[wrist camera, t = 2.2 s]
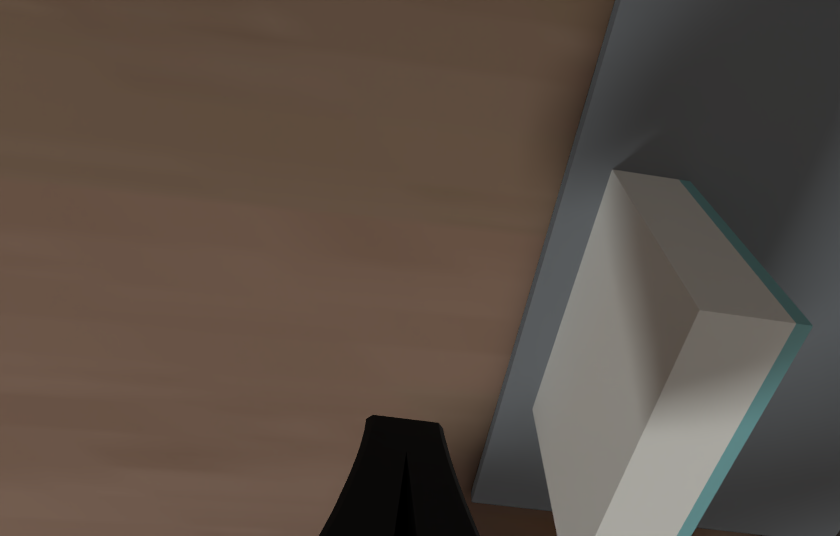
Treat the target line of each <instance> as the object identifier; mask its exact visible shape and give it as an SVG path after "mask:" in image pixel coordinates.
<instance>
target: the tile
mask: <svg viewBox="0 0 840 536" xmlns="http://www.w3.org/2000/svg"><path fill="white" fill-rule="evenodd" d="M812 327H813V325H812V324H811V323H810V322H809V320H808V319H807V318H806V317H805V316H804V314H803V313H802V312H801V311H800V310H799V309H798V307H797V306H796V305H795V304H794V303H793V302H792V300H791V299H790V298H789V297H788V296H787V294H786V293H785V292H784V291H783V290H782V289H781V287H780V286H779V285H778V284H777V283H776V282H775V280H774V279H773V278H772V277H771V276H770V274H769V273H768V272H767V271H766V270H765V269H764V267H763V266H762V265H761V264H760V263H759V262H758V260H757V259H756V258H755V257H754V256H753V254H752V253H751V252H750V251H749V250H748V249H747V247H746V246H745V245H744V244H743V243H742V241H741V240H740V239H739V238H738V237H737V236H736V234H735V233H734V232H733V231H732V230H731V229H730V227H729V226H728V225H727V224H726V223H725V221H724V220H723V219H722V218H721V217H720V216H719V214H718V213H717V212H716V211H715V210H714V209H713V207H712V206H711V205H710V204H709V203H708V201H707V200H706V199H705V198H704V197H703V196H702V194H701V193H700V192H699V191H698V190H697V189H696V187H695V186H694V185H693V184H692V183H691V181H685V180H678V179H672V178H665V177H659V176H652V175H646V174H639V173H633V172H626V171H620V170H613V169H612V171H611V174H610V177H609V180H608V183H607V186H606V189H605V192H604V195H603V198H602V201H601V204H600V207H599V210H598V213H597V216H596V219H595V222H594V225H593V228H592V231H591V234H590V237H589V240H588V243H587V246H586V249H585V252H584V255H583V258H582V261H581V264H580V267H579V270H578V273H577V276H576V279H575V282H574V285H573V288H572V291H571V294H570V297H569V300H568V303H567V306H566V309H565V312H564V315H563V318H562V321H561V324H560V327H559V330H558V333H557V336H556V340H555V343H554V346H553V349H552V352H551V355H550V358H549V361H548V364H547V367H546V370H545V373H544V376H543V379H542V382H541V385H540V388H539V391H538V394H537V397H536V400H535V403H534V406H533V409H532V410H533V415H534V420H535V425H536V430H537V435H538V441H539V446H540V451H541V456H542V461H543V466H544V471H545V476H546V481H547V486H548V492H549V497H550V502H551V507H552V512H553V517H554V522H555V527H556V532H557V536H691V535H692V533H693V532H694V530H695V528H696V527H697V525H698V523H699V521H700V520H701V518H702V516H703V515H704V513H705V511H706V509H707V508H708V506H709V504H710V503H711V501H712V499H713V497H714V496H715V494H716V492H717V490H718V489H719V487H720V485H721V484H722V482H723V480H724V478H725V477H726V475H727V473H728V472H729V470H730V468H731V466H732V465H733V463H734V461H735V459H736V458H737V456H738V454H739V453H740V451H741V449H742V447H743V446H744V444H745V442H746V441H747V439H748V437H749V435H750V434H751V432H752V430H753V429H754V427H755V425H756V423H757V422H758V420H759V418H760V416H761V415H762V413H763V411H764V410H765V408H766V406H767V404H768V403H769V401H770V399H771V398H772V396H773V394H774V392H775V391H776V389H777V387H778V386H779V384H780V382H781V380H782V379H783V377H784V375H785V373H786V372H787V370H788V368H789V367H790V365H791V363H792V361H793V360H794V358H795V356H796V355H797V353H798V351H799V349H800V348H801V346H802V344H803V343H804V341H805V339H806V337H807V336H808V334H809V332H810V330H811V329H812Z"/></svg>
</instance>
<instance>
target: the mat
mask: <svg viewBox="0 0 840 536" xmlns="http://www.w3.org/2000/svg"><path fill="white" fill-rule="evenodd" d="M612 169H613V170H620V171H626V172H633V173H639V174H646V175H652V176H659V177H665V178H672V179H678V180H685V181H691V183H692V184H693V185H694V186H695V187H696V189H697V190H698V191H699V192H700V193H701V194H702V196H703V197H704V198H705V199H706V200H707V201H708V203H709V204H710V205H711V206H712V207H713V209H714V210H715V211H716V212H717V213H718V214H719V216H720V217H721V218H722V219H723V220H724V221H725V223H726V224H727V225H728V226H729V227H730V229H731V230H732V231H733V232H734V233H735V234H736V236H737V237H738V238H739V239H740V240H741V241H742V243H743V244H744V245H745V246H746V247H747V249H748V250H749V251H750V252H751V253H752V254H753V256H754V257H755V258H756V259H757V260H758V262H759V263H760V264H761V265H762V266H763V267H764V269H765V270H766V271H767V272H768V273H769V274H770V276H771V277H772V278H773V279H774V280H775V282H776V283H777V284H778V285H779V286H780V287H781V289H782V290H783V291H784V292H785V293H786V294H787V296H788V297H789V298H790V299H791V300H792V302H793V303H794V304H795V305H796V306H797V307H798V309H799V310H800V311H801V312H802V313H803V314H804V316H805V317H806V318H807V319H808V320H809V322H810V323H811V324H812V325H813V327H812V329H811V330H810V332H809V334H808V336H807V337H806V339H805V341H804V343H803V344H802V346H801V348H800V349H799V351H798V353H797V355H796V356H795V358H794V360H793V361H792V363H791V365H790V367H789V368H788V370H787V372H786V373H785V375H784V377H783V379H782V380H781V382H780V384H779V386H778V387H777V389H776V391H775V392H774V394H773V396H772V398H771V399H770V401H769V403H768V404H767V406H766V408H765V410H764V411H763V413H762V415H761V416H760V418H759V420H758V422H757V423H756V425H755V427H754V429H753V430H752V432H751V434H750V435H749V437H748V439H747V441H746V442H745V444H744V446H743V447H742V449H741V451H740V453H739V454H738V456H737V458H736V459H735V461H734V463H733V465H732V466H731V468H730V470H729V472H728V473H727V475H726V477H725V478H724V480H723V482H722V484H721V485H720V487H719V489H718V490H717V492H716V494H715V496H714V497H713V499H712V501H711V503H710V504H709V506H708V508H707V509H706V511H705V513H704V515H703V516H702V518H701V520H700V521H699V523H698V525H697V527H696V528H704V529H713V530H722V531H730V532H739V533H748V534H757V535H766V536H836V535H837V533H838V532H839V531H840V0H615V3H614V6H613V10H612V13H611V16H610V20H609V23H608V27H607V30H606V34H605V37H604V40H603V44H602V47H601V51H600V54H599V57H598V61H597V64H596V68H595V71H594V74H593V78H592V81H591V85H590V88H589V92H588V95H587V98H586V102H585V105H584V109H583V112H582V115H581V119H580V122H579V126H578V129H577V133H576V136H575V139H574V143H573V146H572V150H571V153H570V156H569V160H568V163H567V167H566V170H565V173H564V177H563V180H562V184H561V187H560V191H559V194H558V197H557V201H556V204H555V208H554V211H553V214H552V218H551V221H550V225H549V228H548V232H547V235H546V238H545V242H544V245H543V249H542V252H541V255H540V259H539V262H538V266H537V269H536V272H535V276H534V279H533V283H532V286H531V290H530V293H529V296H528V300H527V303H526V307H525V310H524V313H523V317H522V320H521V324H520V327H519V331H518V334H517V337H516V341H515V344H514V348H513V351H512V354H511V358H510V361H509V365H508V368H507V371H506V375H505V378H504V382H503V385H502V389H501V392H500V395H499V399H498V402H497V406H496V409H495V412H494V416H493V419H492V423H491V426H490V430H489V433H488V436H487V440H486V443H485V447H484V450H483V453H482V457H481V460H480V464H479V467H478V470H477V474H476V477H475V481H474V484H473V488H472V491H471V500H472V502H474V503H483V504H492V505H501V506H510V507H518V508H527V509H536V510H545V511H552V507H551V502H550V497H549V492H548V486H547V481H546V476H545V471H544V466H543V461H542V456H541V451H540V446H539V441H538V435H537V430H536V425H535V420H534V415H533V410H532V409H533V406H534V403H535V400H536V397H537V394H538V391H539V388H540V385H541V382H542V379H543V376H544V373H545V370H546V367H547V364H548V361H549V358H550V355H551V352H552V349H553V346H554V343H555V340H556V336H557V333H558V330H559V327H560V324H561V321H562V318H563V315H564V312H565V309H566V306H567V303H568V300H569V297H570V294H571V291H572V288H573V285H574V282H575V279H576V276H577V273H578V270H579V267H580V264H581V261H582V258H583V255H584V252H585V249H586V246H587V243H588V240H589V237H590V234H591V231H592V228H593V225H594V222H595V219H596V216H597V213H598V210H599V207H600V204H601V201H602V198H603V195H604V192H605V189H606V186H607V183H608V180H609V177H610V174H611V171H612Z"/></svg>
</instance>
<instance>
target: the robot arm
mask: <svg viewBox="0 0 840 536" xmlns="http://www.w3.org/2000/svg"><path fill="white" fill-rule="evenodd" d="M319 536H480V535H479V533H478V530H477V528H476V526H475V523H474V521H473V518H472V516H471V513H470V511H469V508H468V506H467V504H466V501H465V498H464V496H463V493H462V490H461V488H460V485H459V482H458V479H457V476H456V473H455V470H454V467H453V464H452V461H451V458H450V455H449V451H448V448H447V444H446V440H445V436H444V431H443V428H442V427H441V425H440V424H439V423H435V422H427V421H419V420H411V419H403V418H394V417H386V416H378V415H372V416H370V417H369V418H367V419H366V424H365V430H364V434H363V438H362V442H361V445H360V448H359V451H358V454H357V457H356V459H355V462H354V464H353V467H352V469H351V472H350V474H349V477H348V479H347V481H346V483H345V485H344V487H343V490H342V492H341V494H340V496H339V498H338V500H337V503H336V505H335V507H334V509H333V511H332V513H331V515H330V517H329V518H328V520H327V522H326V524H325V526H324V528H323V529H322V531H321V533H320V535H319Z"/></svg>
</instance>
